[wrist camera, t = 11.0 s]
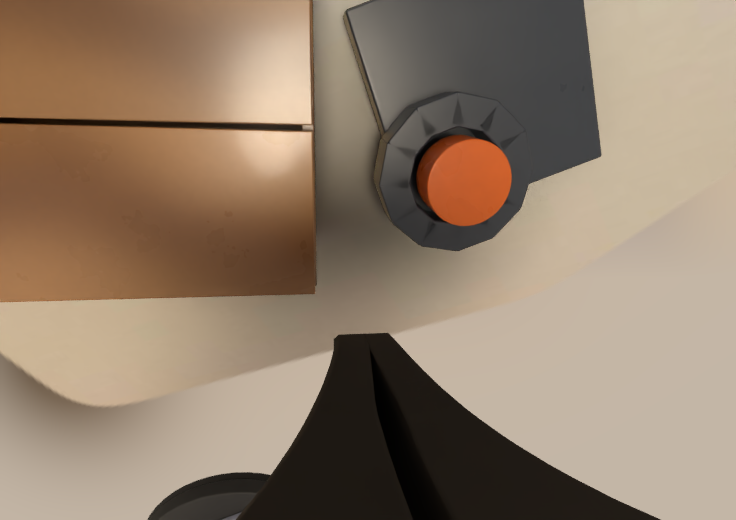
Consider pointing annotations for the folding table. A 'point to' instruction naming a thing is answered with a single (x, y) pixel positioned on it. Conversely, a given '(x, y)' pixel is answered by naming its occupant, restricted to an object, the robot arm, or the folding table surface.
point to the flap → (154, 212)
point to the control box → (474, 96)
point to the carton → (159, 64)
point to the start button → (464, 179)
